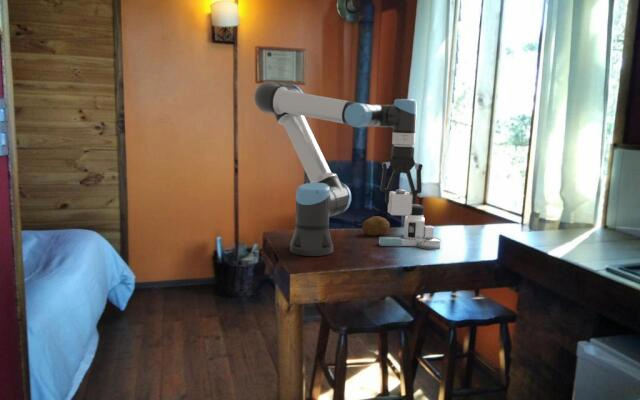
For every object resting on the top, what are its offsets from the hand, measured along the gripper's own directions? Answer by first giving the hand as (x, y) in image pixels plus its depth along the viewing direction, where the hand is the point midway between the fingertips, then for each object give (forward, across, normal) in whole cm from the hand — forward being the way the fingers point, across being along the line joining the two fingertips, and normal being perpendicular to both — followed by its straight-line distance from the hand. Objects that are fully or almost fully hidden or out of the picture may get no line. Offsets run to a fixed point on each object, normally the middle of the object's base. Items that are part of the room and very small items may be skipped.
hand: (399, 212), depth 178 cm
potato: (+15, -5, +29) cm, 33 cm away
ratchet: (+15, +6, +13) cm, 21 cm away
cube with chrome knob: (0, 0, 0) cm, 0 cm away
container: (+15, +10, +27) cm, 32 cm away
